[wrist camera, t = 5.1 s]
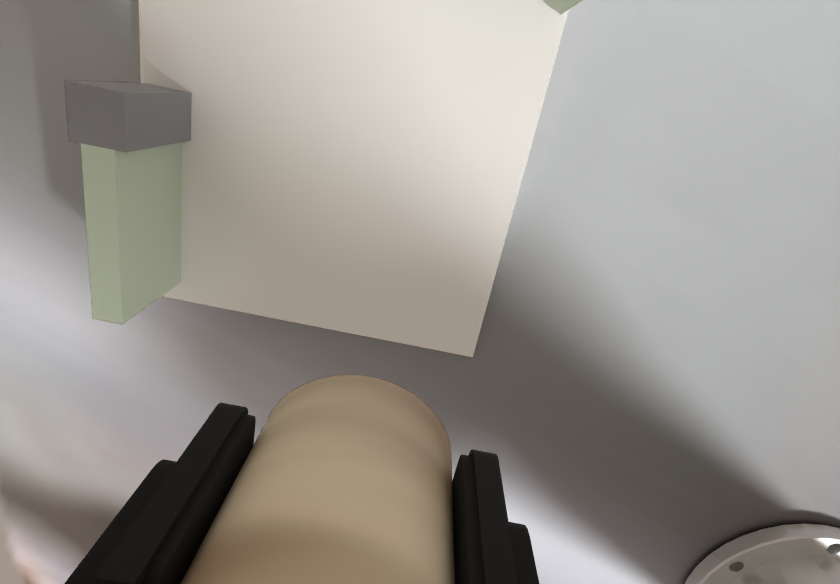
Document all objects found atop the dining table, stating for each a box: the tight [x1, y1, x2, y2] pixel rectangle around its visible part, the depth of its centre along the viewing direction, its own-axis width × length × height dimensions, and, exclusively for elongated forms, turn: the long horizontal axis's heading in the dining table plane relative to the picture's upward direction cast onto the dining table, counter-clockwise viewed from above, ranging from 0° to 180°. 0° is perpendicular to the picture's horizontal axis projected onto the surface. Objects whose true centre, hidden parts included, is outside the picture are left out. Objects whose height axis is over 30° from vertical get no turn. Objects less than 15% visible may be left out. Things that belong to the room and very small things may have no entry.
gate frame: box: [64, 0, 569, 357], centre depth 18 cm, size 27×17×5 cm, turn 169°
